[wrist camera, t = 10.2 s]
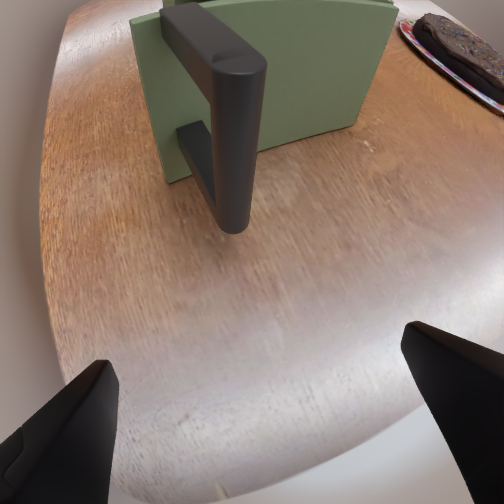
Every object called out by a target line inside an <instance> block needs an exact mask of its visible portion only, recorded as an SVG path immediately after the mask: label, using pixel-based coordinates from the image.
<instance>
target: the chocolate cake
mask: <svg viewBox="0 0 504 504" xmlns="http://www.w3.org/2000/svg"><path fill="white" fill-rule="evenodd" d="M399 26H400V29H401V37H402V38H403V39H404V40H405V41H406V42H407V43H409V44H411V45H412V47H413V48H414V50H416V51H418V52H419V53H420V54H421V55H422V56H423V57H424V59H425V60H426V62H427V63H428V65H430V66H431V67H433V68H434V69H436V70H437V71H439V72H440V73H442V74H443V75H445V76H446V77H448V78H449V79H451V80H452V81H454V82H455V83H456V84H458V85H459V86H461V87H462V88H463V89H465V90H466V91H467V92H469V93H470V94H471V95H473V96H474V97H475V98H477V99H478V100H479V101H480V102H482V103H483V104H484V105H485V106H486V107H488V108H489V109H490V110H491V111H492V112H494V113H495V114H498V115H504V59H503V57H501V55H499V53H498V52H496V51H495V50H494V49H493V48H492V47H491V46H489V45H488V44H487V43H485V42H484V41H482V40H481V39H480V38H478V37H476V36H475V35H473V34H472V33H470V32H469V31H467V30H466V29H464V28H462V27H461V26H459V25H458V24H456V23H454V22H453V21H451V20H450V19H448V18H446V17H444V16H440V15H434V14H431V13H428V14H425V15H424V16H423V17H421V19H418V20H411V19H405V20H401V22H399Z"/></svg>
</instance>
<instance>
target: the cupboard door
mask: <svg viewBox="0 0 504 504" xmlns="http://www.w3.org/2000/svg"><path fill="white" fill-rule="evenodd" d="M398 12H399V8H397V7H395V6H394V5H392V4H387V3H382V2H375V1H368V0H217V1H210V2H203V3H196V2H190V3H185V4H180V5H175V6H171V7H166V8H162V9H160V10H159V12H155V13H151V14H148V15H144V16H140V17H137V18H134V19H130V20H129V23H130V28H131V34H132V39H133V44H134V49H135V55H136V60H137V64H138V69H139V74H140V79H141V83H142V88H143V92H144V97H145V101H146V105H147V110H148V114H149V118H150V122H151V126H152V130H153V134H154V138H155V142H156V146H157V150H158V154H159V157H160V161H161V165H162V168H163V172H164V176H165V178H166V181H167V183H168V184H169V183H171V182H174V181H176V180H179V179H182V178H184V177H187V176H190V175H192V174H193V176H194V178H195V180H196V182H197V184H198V186H199V188H200V190H201V192H202V194H203V196H204V198H205V200H206V202H207V204H208V206H209V208H210V210H211V212H212V214H213V216H214V218H215V220H216V222H217V224H218V226H219V228H220V229H221V230H222V231H224V232H226V233H229V234H238V233H240V232H242V231H244V230H245V229H246V228H247V226H248V224H249V218H250V209H251V200H252V191H253V182H254V174H255V165H256V156H257V152H259V151H262V150H265V149H268V148H272V147H275V146H278V145H281V144H285V143H288V142H292V141H295V140H299V139H302V138H306V137H309V136H313V135H317V134H321V133H324V132H328V131H332V130H336V129H340V128H344V127H348V126H352V125H354V123H355V121H356V118H357V116H358V114H359V111H360V109H361V106H362V104H363V102H364V99H365V97H366V94H367V92H368V89H369V87H370V85H371V82H372V80H373V77H374V75H375V72H376V70H377V67H378V64H379V62H380V59H381V57H382V54H383V52H384V49H385V46H386V44H387V41H388V39H389V36H390V33H391V31H392V28H393V25H394V23H395V20H396V17H397V14H398Z"/></svg>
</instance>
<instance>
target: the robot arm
mask: <svg viewBox="0 0 504 504" xmlns="http://www.w3.org/2000/svg"><path fill="white" fill-rule="evenodd" d="M401 350H402V353H403V355H404V357H405V360H406V362H407V364H408V366H409V369H410V371H411V373H412V376H413V378H414V381H415V383H416V385H417V387H418V389H419V391H420V393H421V395H422V396H423V398H424V400H425V402H426V404H427V406H428V407H429V409H430V411H431V413H432V415H433V417H434V419H435V421H436V423H437V424H438V426H439V428H440V430H441V432H442V434H443V436H444V438H445V440H446V442H447V444H448V446H449V448H450V450H451V452H452V454H453V456H454V459H455V461H456V463H457V465H458V467H459V469H460V471H461V474H462V476H463V478H464V480H465V482H466V485H467V487H468V490H469V492H470V494H471V497H472V499H473V501H474V504H504V354H501V353H499V352H496V351H493V350H491V349H489V348H486V347H483V346H481V345H478V344H476V343H473V342H471V341H468V340H466V339H463V338H461V337H458V336H456V335H453V334H451V333H448V332H445V331H443V330H440V329H438V328H435V327H433V326H430V325H428V324H425V323H423V322H420V321H414V322H410V323H408V324H407V325H406V326H405V329H404V333H403V337H402V341H401ZM118 397H119V382H118V378H117V376H116V374H115V371H114V369H113V366H112V364H111V362H110V361H109V360H95V361H94V362H93V363H92V364H91V365H89V366H88V367H87V368H86V369H85V370H84V371H83V372H81V373H80V374H79V375H78V376H77V377H76V378H75V379H73V380H72V381H71V382H70V383H69V384H68V385H67V386H65V387H64V388H63V389H62V390H61V391H60V392H59V393H58V394H56V395H55V396H54V397H53V398H52V399H51V400H50V401H48V403H46V404H45V405H44V406H43V407H42V408H41V409H39V410H38V411H37V412H36V413H35V414H34V415H33V416H32V417H31V418H29V419H28V420H27V421H26V422H25V423H24V424H23V425H22V427H19V428H18V429H17V430H16V431H15V432H14V433H13V434H12V435H10V436H9V437H8V438H7V439H6V440H5V441H3V442H2V443H1V444H0V504H108V494H109V484H110V475H111V467H112V459H113V452H114V445H115V439H116V431H117V414H118Z"/></svg>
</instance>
